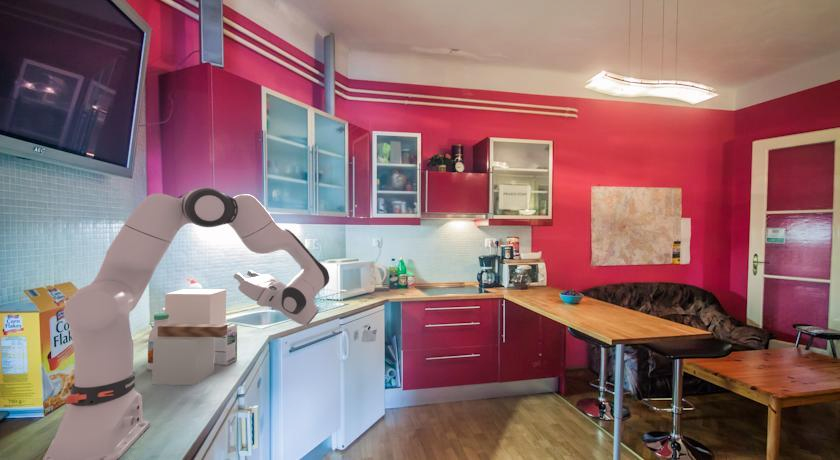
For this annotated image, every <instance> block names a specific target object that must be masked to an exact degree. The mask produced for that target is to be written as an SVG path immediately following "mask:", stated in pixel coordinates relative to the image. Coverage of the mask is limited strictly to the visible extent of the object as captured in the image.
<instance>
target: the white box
mask: <svg viewBox="0 0 840 460" xmlns="http://www.w3.org/2000/svg"><path fill="white" fill-rule="evenodd" d="M164 295H165V296H164V298H165V299H164V308H165V312H164V313H168V314H169V319H168V323H169V324H227V323H226V319H227V318H226V317H227V316H226V315H227V313H226V312H227V288H226V289H225V288H223V289H216V288H215V289H214V288H213V289H212V288H208V289H206V288H183V289H179V290H176V291H175V290H174V291H172V292H171V291H170V292H167V293H165V294H164Z"/></svg>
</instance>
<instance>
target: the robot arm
mask: <svg viewBox="0 0 840 460" xmlns="http://www.w3.org/2000/svg"><path fill="white" fill-rule="evenodd" d="M187 224H193V225H196V226H199V227H202V228H215V227H219V226H223V225H229V226H230V227H231V228H232V229H233V230H234V231H235V233H236V235H237V236H238V237H239V239H240V240H241V241H242V243H243V245H244V246H245V247H246V248H247V249H248V250H250V252H253V253H256V254H261V255H262V254H264V255H265V254H270V253H275V252H277V251H282V250H283V251H285V252H287V253H288V254H289V255H290V256H291V257H292V258H293V260H295V262H296V264H298V265H299V266H300V272H299V273H298V274H297V275H296V276H295V277H294V278H293V279H292V280H290V282H289V283H288V284H287V285H286V284H285V283H283V282H282V281H280V280H279V279H277V278H276V277H274V276H272V275H271V274H269V273H266V274H261V273H257V272H255V271H254V270H248V271H247V272H246V275H247V276H248V277H249V278H246V277H244V276H243V275H242V274H241V273H240V272H236V273H234V275H233V278H234V279H235V280H236V281H237V283H239V285H238V290H239V291H240V292H241V293H242V294H244V296H246V297H248V298H249V299H251V300H252V301H255V302H256V305H258V306H259V307H268V308H272V309H273V310H275V311H278V312H281V314H283V315H284V317H286V318H288V319H290V320H291V321H293V322H295V323H297V324H299V325H301V326H307V325H308V324H310V323H311V322H312V320H314V318H315V317H316V315H317V314H318V313H319V310H320V308H319V307H318V306H317V305H316V304H315V297H317V295H318V294H319V293H320V292H321V291H322V290H323V289H324V288H325V287H326V286H327V285H328V284H329V283H330V275H329V270H328V269H327V267H325V266H324V265H323V264H322V263H321V262H320V261H318V259H316V257H315V256H314V255H313V254H312V253H311V252H310V250H309V249H308V248H307V247H306V246H305V245H304V244H303V243H302V241H300V239H299V238H298V237H297V235H295V234H294V233H293V232H292V231H291V230H289V229H287V228H282V227H281V226H280V225H279V224H277V222H275V219H273V217H272V215H271V214H270V213H269V211H267V209H266V208H265V206H264V205H263V204H262V203H261V202H260V201H259V200H258V199H257V197H255V196H253V195H252V194H249V193H248V194H246V193H245V194H238V195H236V196H234V197H231V196H229V195H227V194H225V193H223V192H222V191H220V190H217V189H215V188H211V187H206V186H205V187H204V186H203V187H197V188H194V189H191V190H190V191H188V192H186V193H184V194H183V195H182V194H181V195H180V196H178V197H175V196H171V195H169V194H166V193H152V194H149V195H148V196H146V197H145V198H144V199H143V200H141V202H140V203H139V204H138V205H137V206H136V207H135V209H134V210H132V213H131V214H130V216H128V218H127V219H126V221H125V222H124V224H123V225H122V227H121V228H120V230H119V232H118V234H116V236H115V238H114V239H113V241H112V242H111V244H110V246H109V247H108V249H107V250H106V253H105V257H104V260H103V261H102V264H101V266H100V268H99V270H98V273H97V275H96V276H95V278H94V279H93V281H92V282H91V283H90V284H88V285H86V286H84V287H81V288H80V289H78V290H76V291H75V292H74V293H73V294H72V295H71V296H70V298H68V300H67V302H66V304H65V306H64V308H63V317H64V320H65V321H66V323H67V324H68V328H69V332H70V333H69V334H70V337H71V341H72V346H73V353H74V371H73V372H74V374H73V377H74V378H73V379H74V380H73V383H72V384H71V388H70V392H69V394H68V395H66V399H65V403H66V408H65V410H64V413H63V416H62V418H61V421H60V424H59V425H58V427H57V430H56V432H55V433H56V434H55V436H54V438H53V439H52V441H51V442H50V445H49V446H48V448H47V450H46V452H45V454H44V455H43V458H42V460H118V459H119V458H121V457H122V455H124V454H125V453H126V451H127V450H128V449H129V448H130V447H131V446H132V445H133V444H134V443H135V442H136V441H137V440H138V439H139V438H140V437H141V435H143V433H144V432H145V431H146V430H148V429H149V427H150V426H151V424H150V421H149V420H146V419H143V418H144V417H143V400H142V399H143V398H142V394H140V393H139V392H138V391H137V390H136V389H135V387H136V373H135V371H134V340H133V339H132V338H133V337H132V333H131V325H130V313H131V312H132V311H133V310H134V309H135V308H136V307H137V305H138V303H139V302H140V301H141V298H142V296H143V295H144V292H145V290H146V289H147V287H148V285H149V283H150V281H151V279H152V277H153V275H154V274H155V273H154V272H155V271H156V269H157V268H158V266H159V264H160V262H161V260H162V259H163V257H164V256H165V254H166V252H167V250H169V247H170V245H172V242H173V240H174V238H175V237H176V236H177V233H179V231H180V230H181V229H182V227H184V226H185V225H187Z"/></svg>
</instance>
